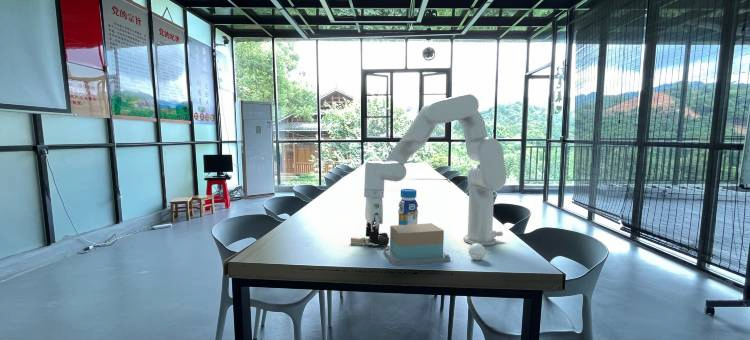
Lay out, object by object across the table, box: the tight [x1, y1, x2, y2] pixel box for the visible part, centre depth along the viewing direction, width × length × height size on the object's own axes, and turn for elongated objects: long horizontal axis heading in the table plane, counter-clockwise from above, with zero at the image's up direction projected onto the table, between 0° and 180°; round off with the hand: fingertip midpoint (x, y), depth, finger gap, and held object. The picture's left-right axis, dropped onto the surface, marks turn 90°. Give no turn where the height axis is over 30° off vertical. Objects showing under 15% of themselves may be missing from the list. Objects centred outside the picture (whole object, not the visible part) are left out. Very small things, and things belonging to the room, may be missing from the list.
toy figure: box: [350, 231, 390, 249], centre depth 126 cm, size 7×6×15 cm
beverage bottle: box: [397, 188, 419, 225], centre depth 138 cm, size 8×8×20 cm
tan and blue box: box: [383, 223, 451, 267], centre depth 113 cm, size 20×13×10 cm, turn 104°
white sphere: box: [468, 243, 491, 261], centre depth 110 cm, size 8×6×6 cm
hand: (371, 238), depth 125 cm, fingers closed on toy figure, 6 cm apart
